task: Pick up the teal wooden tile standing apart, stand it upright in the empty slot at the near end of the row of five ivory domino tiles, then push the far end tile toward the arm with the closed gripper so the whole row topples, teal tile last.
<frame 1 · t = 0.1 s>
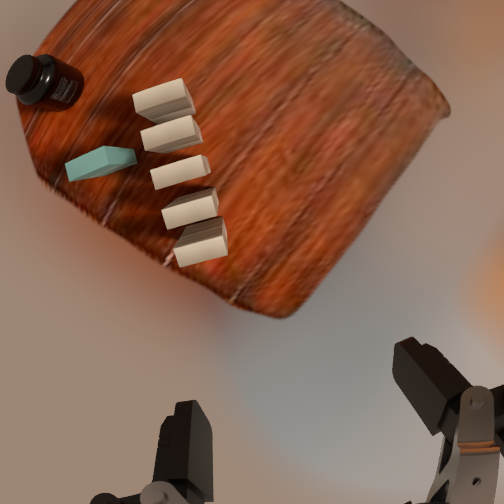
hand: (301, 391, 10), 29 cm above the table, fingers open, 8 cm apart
domino 5: (175, 112, 32), on the table
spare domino: (119, 162, 33), on the table
supplement bottle: (67, 90, 29), on the table
domino 2: (198, 199, 36), on the table
domino 1: (206, 228, 37), on the table
domino 4: (182, 140, 33), on the table
domino 3: (190, 170, 35), on the table
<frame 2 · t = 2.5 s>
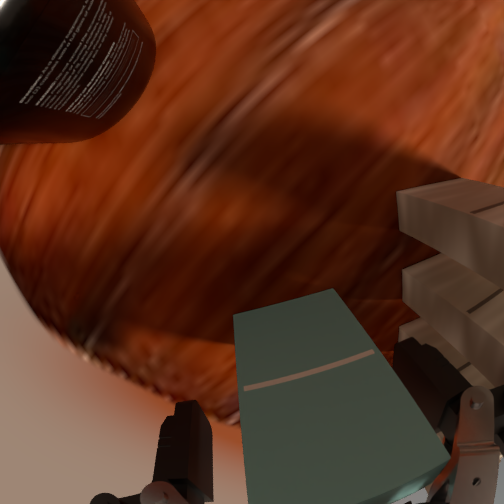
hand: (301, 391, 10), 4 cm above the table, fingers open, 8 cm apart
domino 5: (433, 202, 12), on the table
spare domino: (287, 318, 14), on the table
supplement bottle: (89, 73, 9), on the table
domino 4: (435, 271, 14), on the table
domino 3: (429, 325, 15), on the table
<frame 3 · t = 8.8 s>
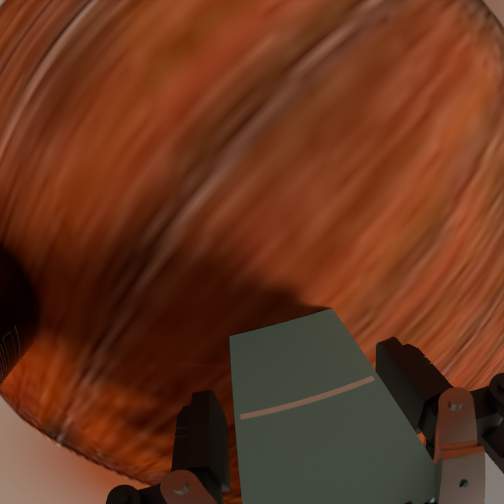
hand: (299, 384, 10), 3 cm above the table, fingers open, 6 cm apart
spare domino: (285, 339, 13), on the table
supplement bottle: (2, 293, 11), on the table
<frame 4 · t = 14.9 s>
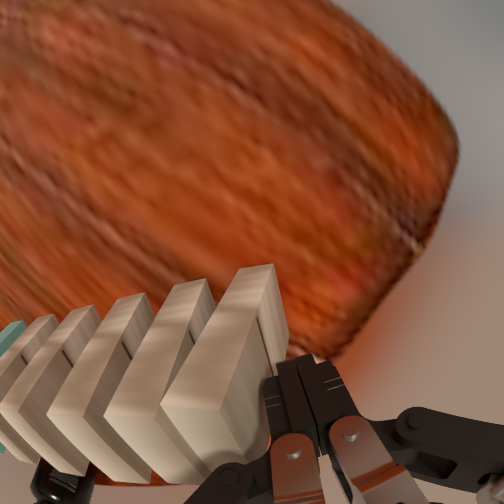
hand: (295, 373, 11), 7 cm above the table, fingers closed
domino 5: (60, 343, 17), on the table
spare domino: (30, 347, 17), on the table
supplement bottle: (75, 448, 22), on the table
domino 2: (202, 317, 17), on the table, tilted 6°
domino 1: (265, 303, 17), on the table, tilted 18°
domino 4: (98, 337, 17), on the table
domino 3: (146, 328, 17), on the table
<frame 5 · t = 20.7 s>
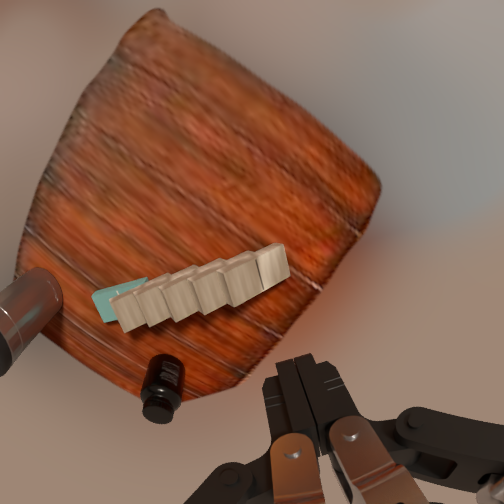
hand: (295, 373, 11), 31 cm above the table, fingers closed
domino 5: (175, 288, 41), point 1 cm above the table, tilted 62°, touching domino 4, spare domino
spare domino: (151, 293, 41), point 1 cm above the table, tilted 90°, touching domino 5
supplement bottle: (167, 366, 47), on the table
domino 2: (255, 267, 42), point 1 cm above the table, tilted 61°, touching domino 1, domino 3
domino 1: (282, 259, 42), point 1 cm above the table, tilted 61°, touching domino 2
domino 4: (201, 281, 41), point 1 cm above the table, tilted 61°, touching domino 3, domino 5
domino 3: (227, 274, 41), point 1 cm above the table, tilted 61°, touching domino 2, domino 4
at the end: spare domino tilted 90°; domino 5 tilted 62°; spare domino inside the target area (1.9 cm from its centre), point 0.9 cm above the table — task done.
